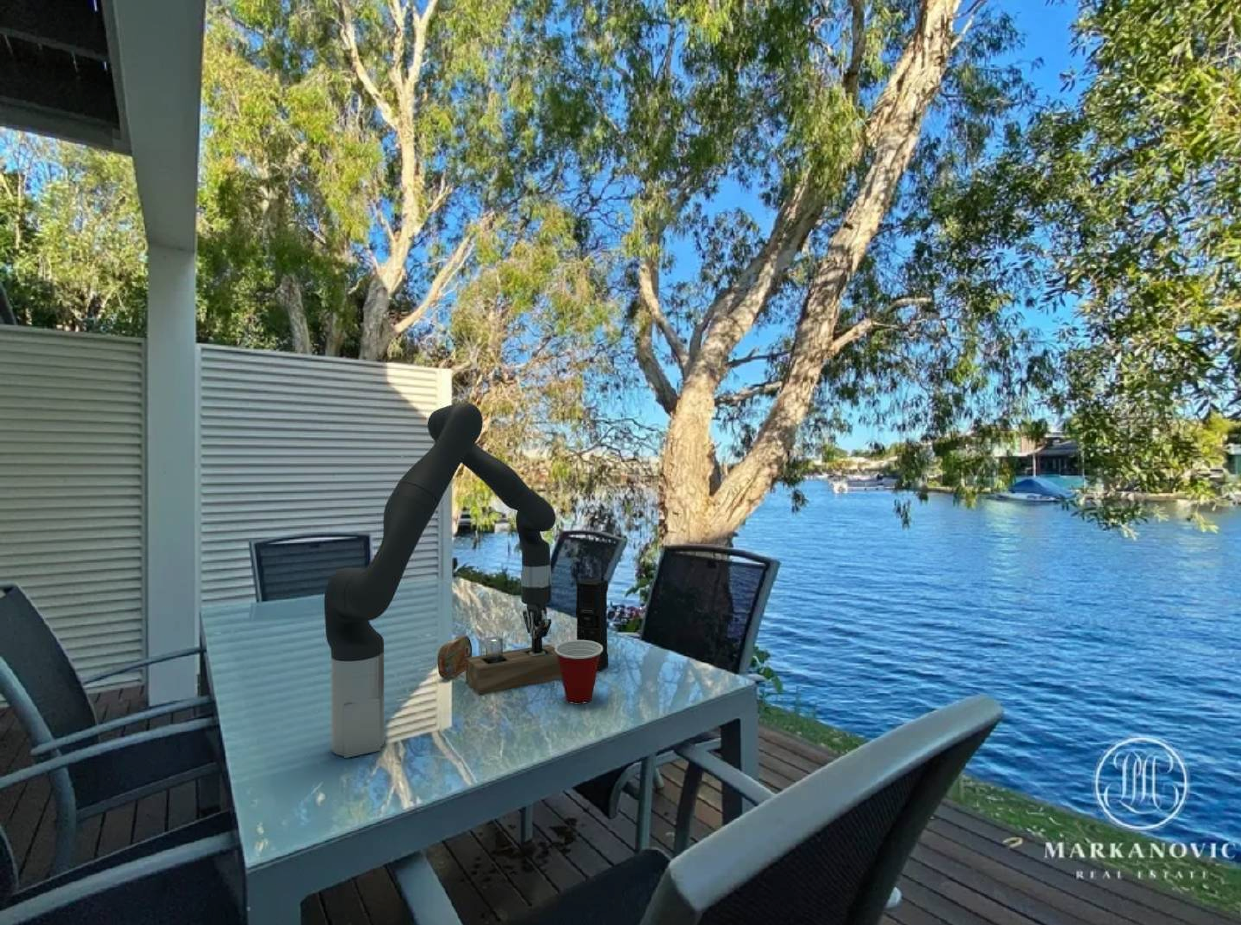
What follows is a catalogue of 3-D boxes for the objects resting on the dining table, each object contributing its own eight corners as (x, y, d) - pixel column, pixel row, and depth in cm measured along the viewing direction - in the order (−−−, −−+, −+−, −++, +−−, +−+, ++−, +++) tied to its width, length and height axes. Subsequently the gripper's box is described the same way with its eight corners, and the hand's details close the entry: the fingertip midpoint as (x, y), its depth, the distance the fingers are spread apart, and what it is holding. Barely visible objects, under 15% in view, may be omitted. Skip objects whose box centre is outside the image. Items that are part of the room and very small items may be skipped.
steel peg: (505, 662, 154) (505, 639, 154) (489, 665, 152) (489, 641, 152) (499, 658, 157) (499, 635, 157) (483, 660, 155) (483, 637, 155)
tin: (447, 683, 156) (446, 648, 156) (435, 682, 157) (434, 647, 157) (473, 664, 171) (473, 632, 171) (462, 663, 171) (462, 632, 172)
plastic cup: (559, 711, 137) (559, 655, 137) (551, 694, 148) (550, 641, 148) (609, 706, 140) (608, 650, 140) (597, 689, 150) (596, 638, 151)
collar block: (566, 678, 159) (565, 653, 159) (479, 695, 147) (479, 668, 148) (549, 667, 167) (548, 644, 167) (465, 682, 156) (465, 657, 156)
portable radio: (571, 668, 166) (570, 571, 166) (583, 662, 171) (582, 568, 171) (598, 673, 162) (597, 573, 162) (609, 666, 168) (608, 570, 168)
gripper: (512, 580, 164) (512, 648, 164) (532, 588, 153) (533, 662, 153) (539, 577, 168) (540, 644, 168) (561, 585, 157) (562, 656, 157)
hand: (537, 652), depth 160 cm, fingers closed
